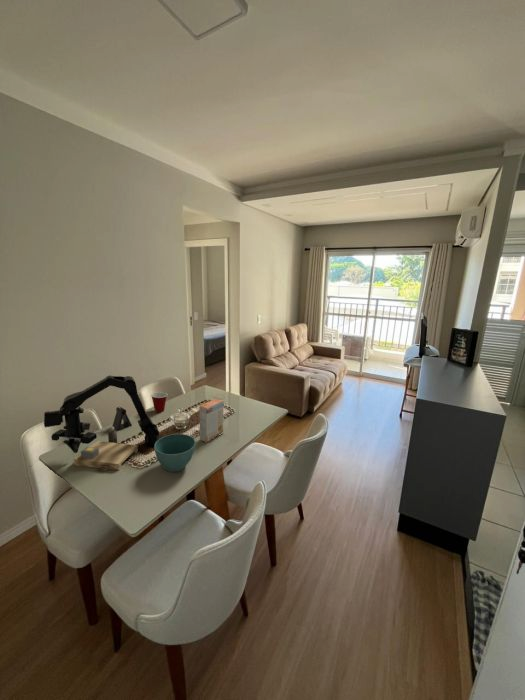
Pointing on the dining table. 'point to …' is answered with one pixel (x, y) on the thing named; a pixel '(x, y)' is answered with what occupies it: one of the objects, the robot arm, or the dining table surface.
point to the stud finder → (89, 452)
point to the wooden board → (107, 456)
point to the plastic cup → (159, 401)
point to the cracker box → (211, 419)
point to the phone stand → (118, 419)
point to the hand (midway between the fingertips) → (76, 452)
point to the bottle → (112, 435)
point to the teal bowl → (174, 451)
